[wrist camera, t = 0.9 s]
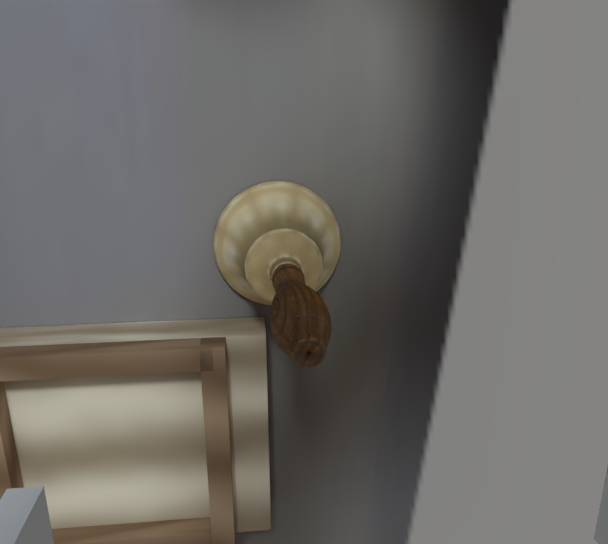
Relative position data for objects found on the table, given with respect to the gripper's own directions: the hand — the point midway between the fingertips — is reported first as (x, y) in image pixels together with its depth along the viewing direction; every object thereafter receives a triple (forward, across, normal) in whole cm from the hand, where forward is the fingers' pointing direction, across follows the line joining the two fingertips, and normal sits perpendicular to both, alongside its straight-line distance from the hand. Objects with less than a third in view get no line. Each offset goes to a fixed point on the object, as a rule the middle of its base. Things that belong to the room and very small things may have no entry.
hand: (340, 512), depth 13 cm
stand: (+24, -11, -12) cm, 29 cm away
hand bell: (+24, 0, 0) cm, 24 cm away
